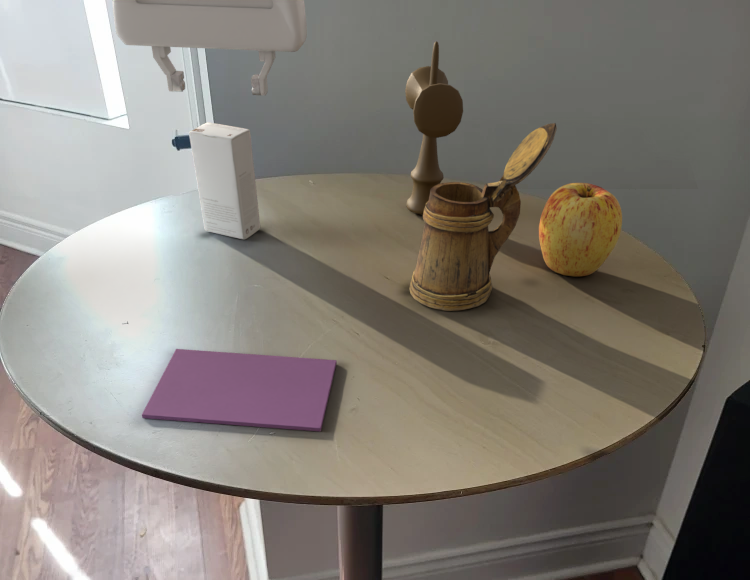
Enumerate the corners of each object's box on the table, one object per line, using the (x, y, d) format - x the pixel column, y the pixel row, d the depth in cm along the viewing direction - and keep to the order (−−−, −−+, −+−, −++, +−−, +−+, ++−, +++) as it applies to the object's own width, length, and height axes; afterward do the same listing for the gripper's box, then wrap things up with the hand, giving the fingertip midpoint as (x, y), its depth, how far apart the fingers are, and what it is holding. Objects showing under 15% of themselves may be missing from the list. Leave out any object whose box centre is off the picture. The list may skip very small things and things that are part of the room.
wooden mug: (536, 311, 85) (568, 138, 72) (413, 311, 84) (424, 136, 72) (521, 273, 91) (548, 109, 79) (406, 273, 90) (416, 107, 78)
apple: (607, 257, 95) (628, 174, 88) (610, 292, 88) (632, 205, 82) (533, 250, 96) (547, 167, 89) (530, 283, 89) (545, 197, 83)
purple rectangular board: (142, 418, 69) (141, 414, 69) (176, 352, 77) (175, 348, 77) (320, 431, 68) (320, 428, 68) (336, 363, 76) (336, 359, 76)
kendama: (407, 226, 100) (417, 52, 87) (397, 196, 107) (405, 31, 94) (453, 225, 101) (470, 51, 87) (440, 195, 108) (454, 31, 94)
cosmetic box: (262, 228, 99) (254, 127, 90) (243, 242, 95) (233, 139, 87) (220, 219, 100) (209, 119, 92) (201, 232, 97) (187, 130, 89)
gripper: (89, -58, 76) (118, 96, 85) (296, -51, 75) (302, 104, 84) (111, -67, 80) (136, 80, 90) (306, -60, 79) (311, 88, 89)
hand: (218, 92), depth 87 cm, fingers open, 8 cm apart
